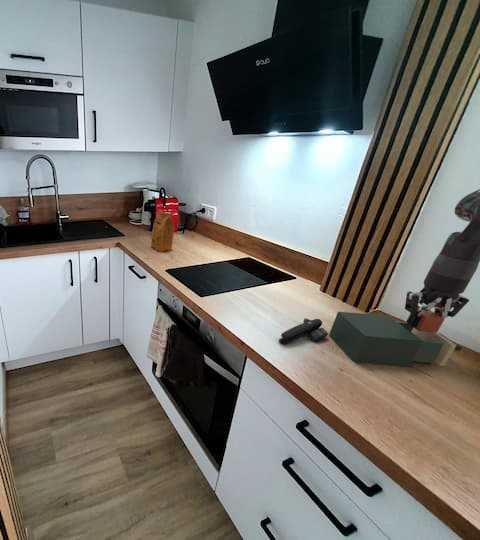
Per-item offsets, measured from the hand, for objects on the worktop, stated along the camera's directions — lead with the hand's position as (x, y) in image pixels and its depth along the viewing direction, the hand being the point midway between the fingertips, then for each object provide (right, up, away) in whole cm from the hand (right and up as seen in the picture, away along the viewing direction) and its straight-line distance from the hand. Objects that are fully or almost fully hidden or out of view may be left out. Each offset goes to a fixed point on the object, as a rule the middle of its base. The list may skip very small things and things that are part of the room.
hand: (421, 326), depth 81 cm
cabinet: (-12, -8, +5) cm, 15 cm away
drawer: (0, -8, +3) cm, 9 cm away
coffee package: (-62, +29, +86) cm, 110 cm away
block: (0, 0, 0) cm, 0 cm away
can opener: (-29, -6, +9) cm, 31 cm away
